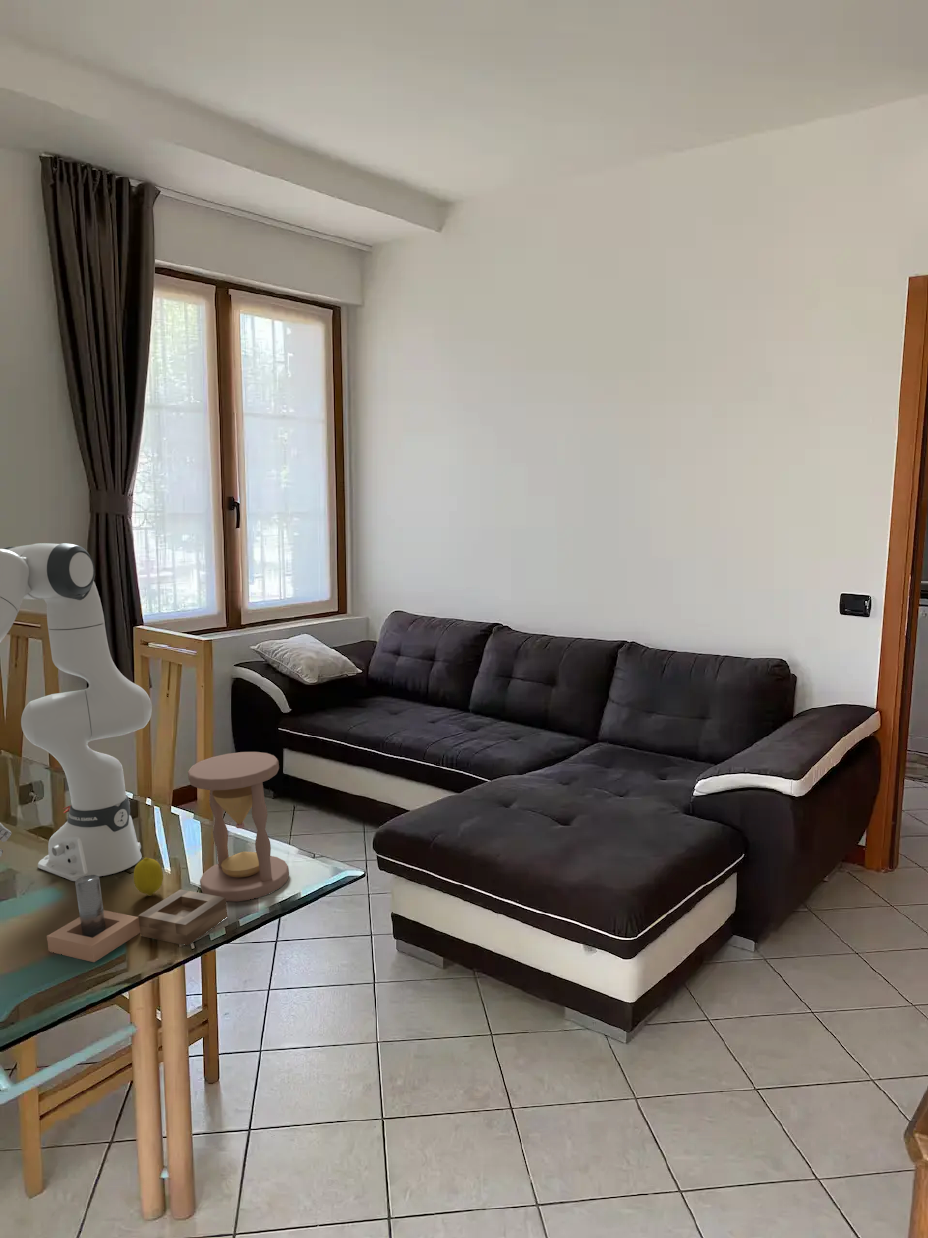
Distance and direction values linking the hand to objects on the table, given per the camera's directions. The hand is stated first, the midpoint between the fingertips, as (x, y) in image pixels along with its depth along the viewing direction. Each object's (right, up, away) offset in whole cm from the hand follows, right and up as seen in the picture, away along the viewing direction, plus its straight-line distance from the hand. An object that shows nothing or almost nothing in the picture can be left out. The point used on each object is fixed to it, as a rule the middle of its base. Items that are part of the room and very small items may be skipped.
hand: (4, 847), depth 161 cm
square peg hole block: (+28, -17, +11) cm, 35 cm away
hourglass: (+35, -14, +28) cm, 47 cm away
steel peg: (+13, -19, +7) cm, 24 cm away
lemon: (+17, -16, +25) cm, 34 cm away
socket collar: (+13, -19, +7) cm, 24 cm away
